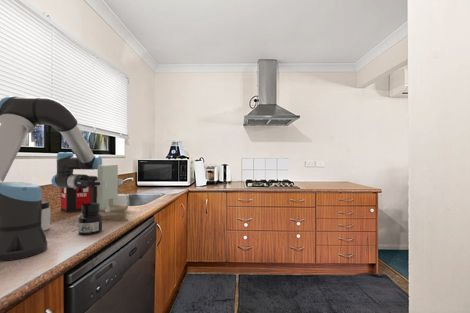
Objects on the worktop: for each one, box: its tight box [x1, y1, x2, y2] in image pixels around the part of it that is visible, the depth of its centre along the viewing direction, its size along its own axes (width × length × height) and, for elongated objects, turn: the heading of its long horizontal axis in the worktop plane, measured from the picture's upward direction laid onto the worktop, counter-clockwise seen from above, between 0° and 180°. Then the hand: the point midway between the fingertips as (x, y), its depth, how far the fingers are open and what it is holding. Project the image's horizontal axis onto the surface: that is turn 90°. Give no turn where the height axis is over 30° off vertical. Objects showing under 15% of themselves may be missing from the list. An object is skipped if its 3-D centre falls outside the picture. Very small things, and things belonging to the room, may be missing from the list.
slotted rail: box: [99, 205, 129, 221], centre depth 132 cm, size 2×22×7 cm, turn 77°
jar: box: [41, 200, 51, 232], centre depth 111 cm, size 9×8×12 cm
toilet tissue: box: [105, 193, 127, 211], centre depth 147 cm, size 11×12×10 cm
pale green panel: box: [97, 164, 119, 210], centre depth 132 cm, size 11×3×22 cm, turn 166°
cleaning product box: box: [60, 175, 98, 214], centre depth 154 cm, size 16×9×20 cm, turn 143°
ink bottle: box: [77, 203, 103, 236], centre depth 108 cm, size 10×9×12 cm
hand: (114, 182), depth 131 cm, fingers closed on pale green panel, 11 cm apart
